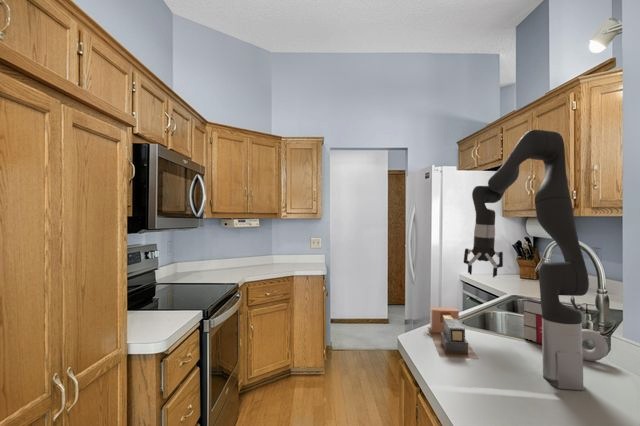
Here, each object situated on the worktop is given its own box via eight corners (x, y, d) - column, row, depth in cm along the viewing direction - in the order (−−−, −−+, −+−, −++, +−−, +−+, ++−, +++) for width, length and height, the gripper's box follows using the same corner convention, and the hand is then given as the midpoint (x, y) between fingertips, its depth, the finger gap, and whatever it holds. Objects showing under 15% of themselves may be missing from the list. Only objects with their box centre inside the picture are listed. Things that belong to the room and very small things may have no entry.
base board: (479, 362, 115) (479, 358, 115) (439, 360, 117) (439, 356, 117) (458, 331, 147) (458, 328, 147) (427, 330, 149) (427, 327, 149)
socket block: (458, 333, 141) (458, 311, 141) (432, 332, 143) (431, 310, 143) (456, 329, 146) (456, 308, 146) (430, 328, 147) (430, 307, 148)
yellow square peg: (462, 340, 118) (462, 331, 118) (452, 340, 119) (452, 331, 119) (450, 323, 139) (450, 315, 139) (442, 323, 139) (442, 315, 139)
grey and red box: (522, 339, 138) (521, 299, 138) (530, 337, 139) (529, 298, 140) (551, 348, 128) (550, 305, 128) (559, 346, 129) (558, 304, 130)
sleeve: (468, 355, 118) (468, 328, 118) (446, 353, 119) (446, 327, 119) (461, 342, 130) (460, 319, 130) (440, 341, 131) (440, 318, 131)
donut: (569, 359, 118) (569, 328, 118) (569, 355, 121) (569, 325, 121) (609, 365, 112) (608, 333, 112) (607, 362, 115) (607, 330, 115)
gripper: (464, 235, 144) (462, 275, 145) (504, 238, 138) (502, 280, 139) (465, 233, 150) (463, 271, 152) (504, 235, 144) (501, 275, 146)
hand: (482, 275), depth 145 cm, fingers open, 8 cm apart
